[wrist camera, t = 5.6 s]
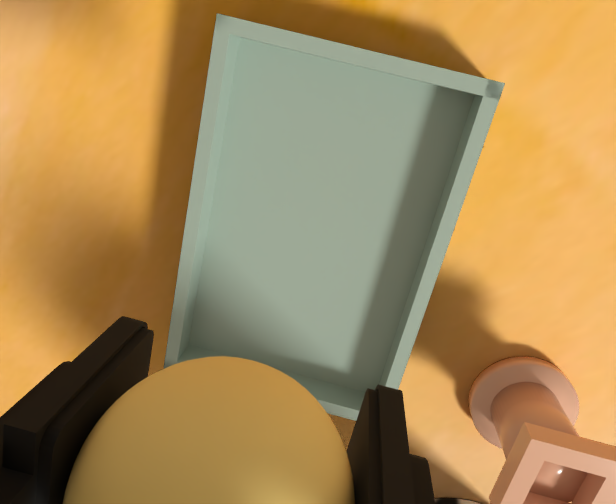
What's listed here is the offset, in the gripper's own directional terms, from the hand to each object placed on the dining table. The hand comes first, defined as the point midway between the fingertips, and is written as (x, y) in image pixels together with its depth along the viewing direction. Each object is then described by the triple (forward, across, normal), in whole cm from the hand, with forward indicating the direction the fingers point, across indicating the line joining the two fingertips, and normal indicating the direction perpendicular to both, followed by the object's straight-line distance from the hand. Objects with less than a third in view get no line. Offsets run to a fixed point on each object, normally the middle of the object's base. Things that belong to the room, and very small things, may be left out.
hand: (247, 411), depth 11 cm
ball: (0, 0, 0) cm, 0 cm away
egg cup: (+13, -12, +5) cm, 19 cm away
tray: (+13, 0, -1) cm, 13 cm away
